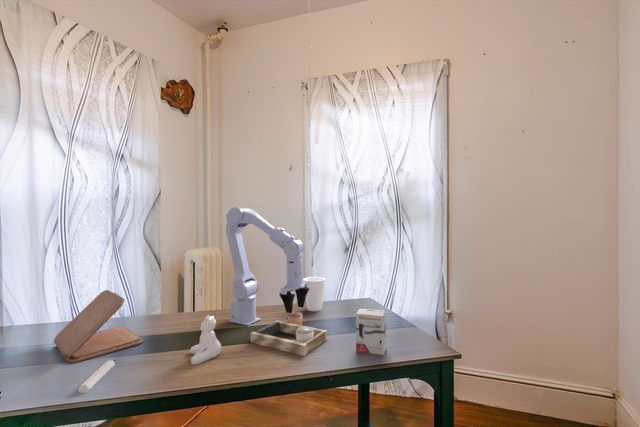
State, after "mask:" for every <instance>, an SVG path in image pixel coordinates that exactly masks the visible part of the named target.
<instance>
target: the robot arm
mask: <svg viewBox="0 0 640 427" xmlns="http://www.w3.org/2000/svg"><path fill="white" fill-rule="evenodd" d="M225 217H226V226H225V234H226V238H227V243H228V246H229V248H228V249H229V251H230V256H231V260H232V264H233V269H234V273H235V277H234V278H233V281H232V284H233V286H232V287H233V288H232V294H233V297H234V298H232V300H231V302H230V319H229V320H228V322H230V323H234V324H238V325H244V326H250V325H252V324H254V323H256V322H258V321H260V320H262V318H261V317H257V307H256V303H257V302H256V300H257V299H256V298H257V297H256V296H257V293H258V292H259V289H260V285H259V282H258V281H257V280H256V276H255V275H254V274H253V273H252V272H251V271H250V267H249V261H248V258H247V254H246V250H245V244H244V242H243V240H244V239H243V236H242V232H243V231H244V228H245V227H247V226H248V225H253V226H255V227H256V228H258V229H259V230H261V231H262V232H264V233H265V234H267V235H268V236H269V241H271V242H272V243H274V244H275V245H277V246H278V247H279V248H281V249H282V250H283V252H284V255H285V256H286V284H285V285H284V286H283V287H281V288H280V292H279V297H280V298H281V300H282V302H283V306H284V310H285V312H286V313H287V314H288V313H292V311H293V306H294V305H293V304H294V299H295V296H296V303H297V307H298V308H303V309H304V306H305V303H306V295H307V293H308V291H309V288H308V287H307V281H303V252H304V250H305V244H304V242H302V240H301V239H300V238H299V239H298V238H295V236H294V235H290V234H289V233H288V232H286V231H285V228H284V227H274V226H273V225H272V224H271V223H269V221H267V220H266V219H264V218H263V217H262V216H261V215H260V214H258V212H256V211H255V210H253V209H252V208H251V207H246V206H245V207H237V206H235V207H231V208H230V209H229V210H228V212H227V214H226V215H225ZM294 291H295V294H294V293H291V292H294Z"/></svg>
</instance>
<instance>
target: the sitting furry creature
mask: <svg viewBox="0 0 640 427" xmlns="http://www.w3.org/2000/svg"><path fill="white" fill-rule="evenodd" d="M216 324H217V320H216V318H215V317H214V315H209V314H207V315H206V316H205V317H204V320H203V321H202V322H201V323H200V328H199V330H200V331H201V334H200V336H199V343H198V344H195V345H193V346H192V347H190V352H189V353H190V354H192V355H193V356H191V357H190V364H191V365H192V366H193V365H198V364H201V363H203V362H204V363H205V362H206V361H210V360H211V359H213V358H216V357H217V356H218V355H219V354H220V353H221V350H222V343H221V342H220V341H219V340H218V339H217V336H216V332H215V331H214V329H215V328H216Z"/></svg>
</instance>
